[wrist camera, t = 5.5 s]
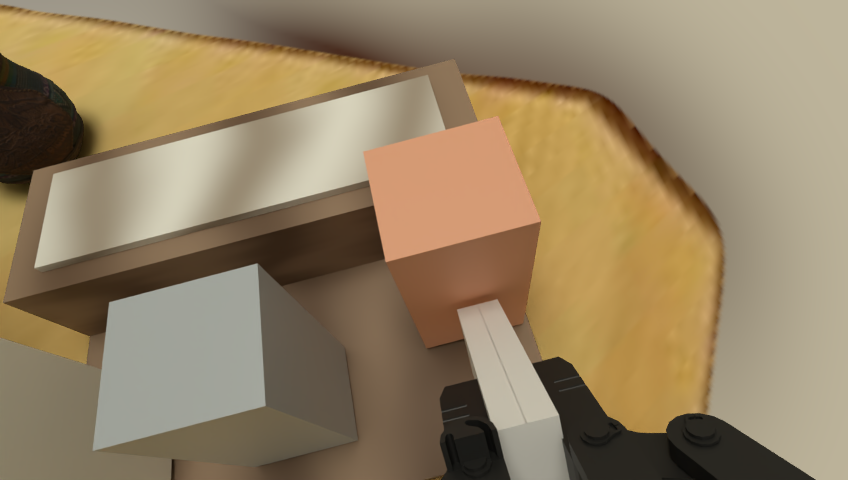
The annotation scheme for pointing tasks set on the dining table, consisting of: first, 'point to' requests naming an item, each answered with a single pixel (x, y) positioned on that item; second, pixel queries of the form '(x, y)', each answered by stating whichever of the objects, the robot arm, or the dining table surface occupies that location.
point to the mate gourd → (34, 124)
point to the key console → (263, 252)
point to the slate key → (221, 375)
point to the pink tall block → (455, 225)
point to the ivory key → (57, 422)
